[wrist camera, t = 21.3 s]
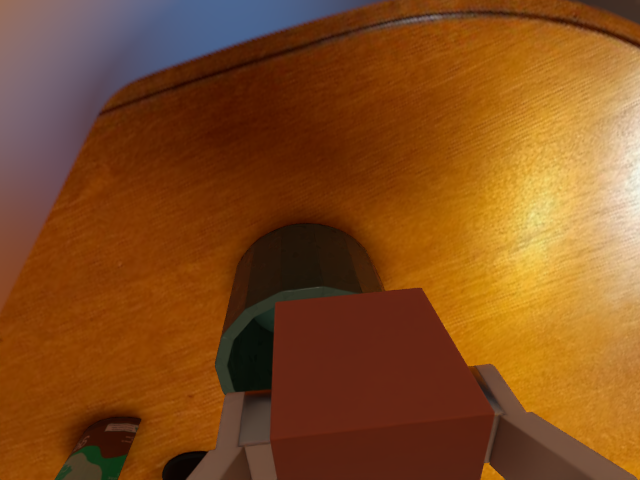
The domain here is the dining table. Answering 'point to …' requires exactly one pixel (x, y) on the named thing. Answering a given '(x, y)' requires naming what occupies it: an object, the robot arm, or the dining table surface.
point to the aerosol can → (182, 466)
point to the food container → (101, 451)
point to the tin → (284, 294)
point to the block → (373, 392)
